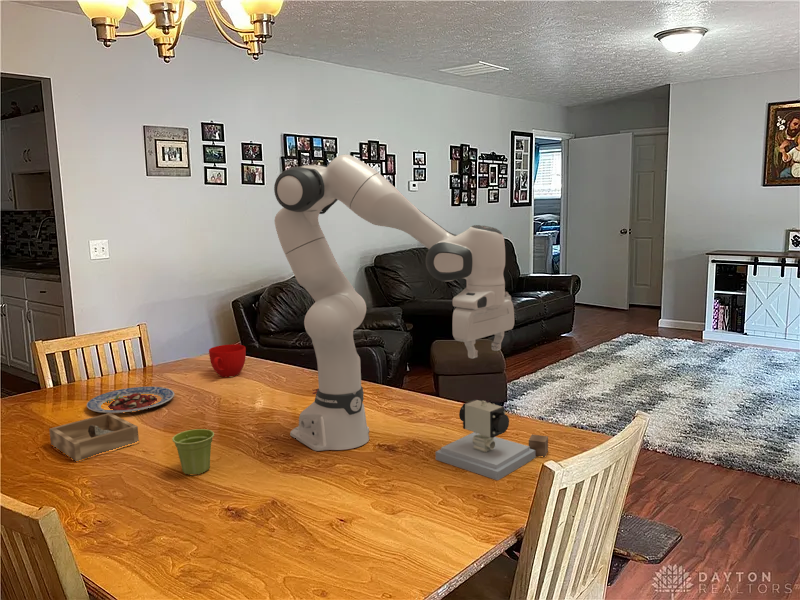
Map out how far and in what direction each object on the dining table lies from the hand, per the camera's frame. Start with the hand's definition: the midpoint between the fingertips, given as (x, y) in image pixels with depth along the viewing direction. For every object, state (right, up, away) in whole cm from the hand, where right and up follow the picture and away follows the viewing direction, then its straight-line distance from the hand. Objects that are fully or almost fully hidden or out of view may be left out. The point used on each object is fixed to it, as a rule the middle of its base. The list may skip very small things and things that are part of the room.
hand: (484, 353), depth 151 cm
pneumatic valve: (0, -23, +3) cm, 23 cm away
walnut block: (+14, -25, +7) cm, 30 cm away
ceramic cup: (-83, -15, +82) cm, 118 cm away
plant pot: (-69, -28, +2) cm, 74 cm away
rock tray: (-101, -26, +20) cm, 106 cm away
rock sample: (-99, -25, +20) cm, 104 cm away
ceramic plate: (-105, -21, +53) cm, 120 cm away
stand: (+1, -26, +4) cm, 26 cm away
